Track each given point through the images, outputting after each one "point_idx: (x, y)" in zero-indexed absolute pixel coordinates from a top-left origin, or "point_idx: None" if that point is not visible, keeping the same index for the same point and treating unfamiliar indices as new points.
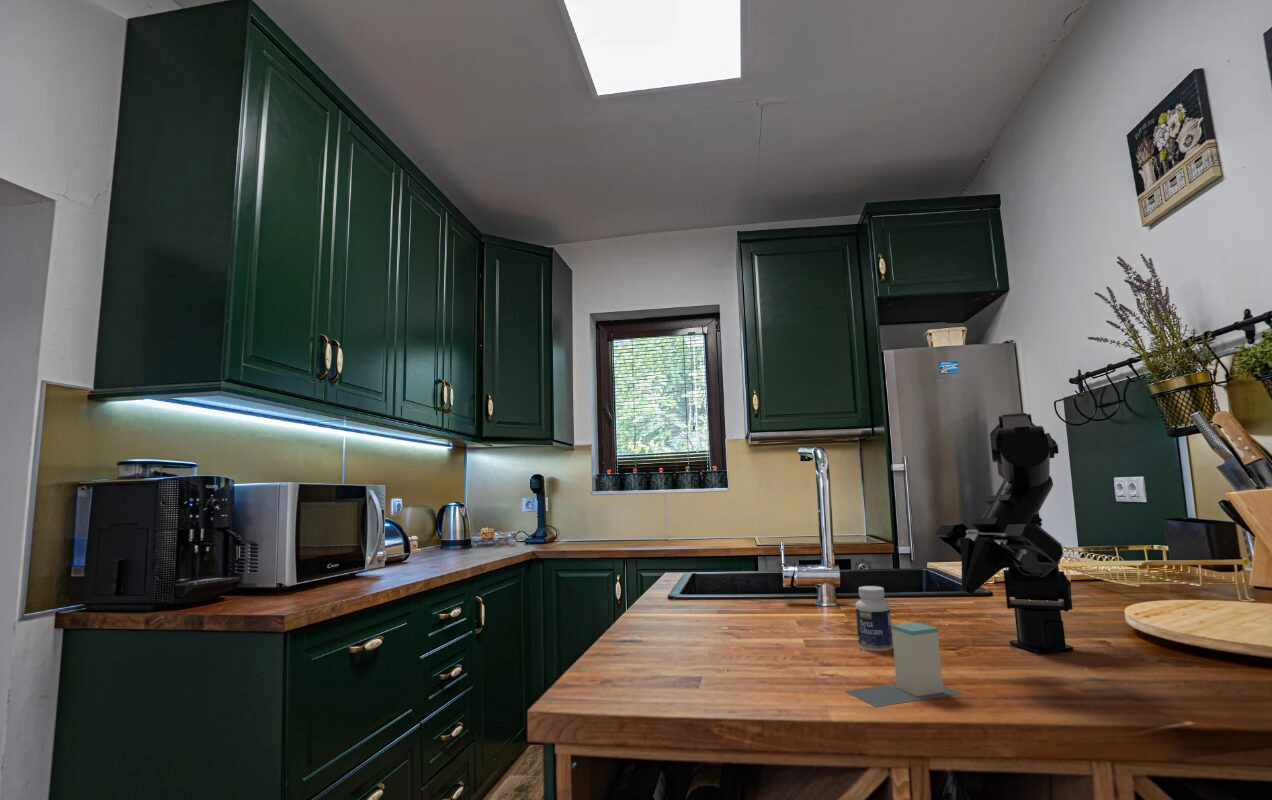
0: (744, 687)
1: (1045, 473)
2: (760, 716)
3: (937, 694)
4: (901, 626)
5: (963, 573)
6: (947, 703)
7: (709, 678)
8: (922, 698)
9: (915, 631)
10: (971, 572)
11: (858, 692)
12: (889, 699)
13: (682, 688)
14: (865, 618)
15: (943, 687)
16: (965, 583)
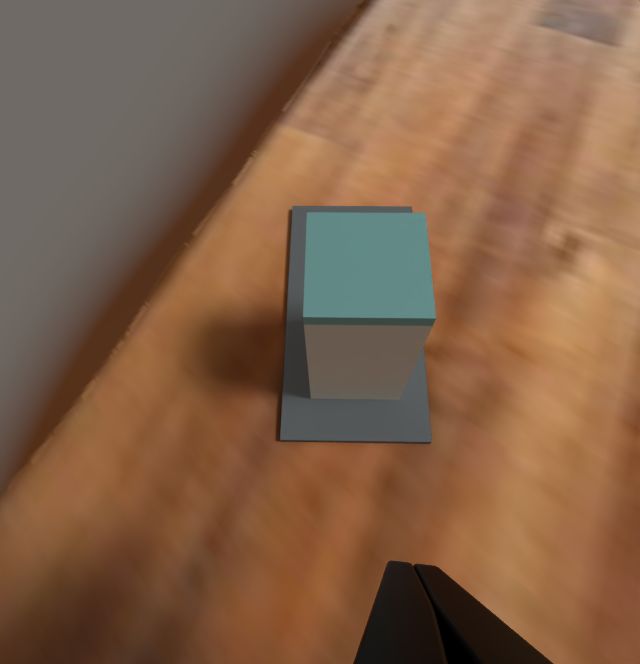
0: (517, 80)
1: None
2: (351, 51)
3: (301, 371)
4: (393, 229)
5: (502, 644)
6: (254, 364)
7: (597, 52)
8: (293, 320)
9: (306, 227)
10: (369, 638)
11: None
12: None
13: (542, 6)
14: None
15: (343, 427)
16: (411, 583)
